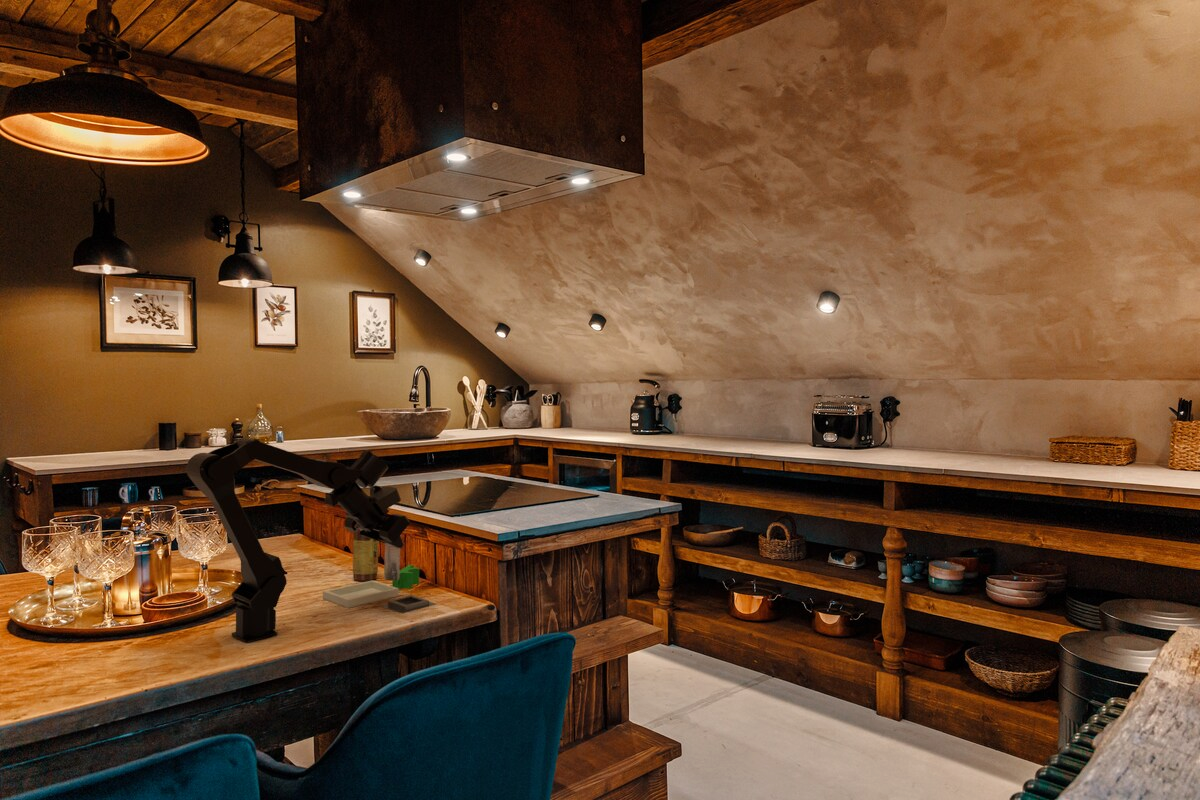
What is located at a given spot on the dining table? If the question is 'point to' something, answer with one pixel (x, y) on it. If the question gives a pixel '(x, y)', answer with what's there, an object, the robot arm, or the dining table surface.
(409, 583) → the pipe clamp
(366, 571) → the sauce bottle
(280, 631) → the dining table surface
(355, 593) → the tray
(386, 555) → the hitch pin
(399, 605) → the collar block
